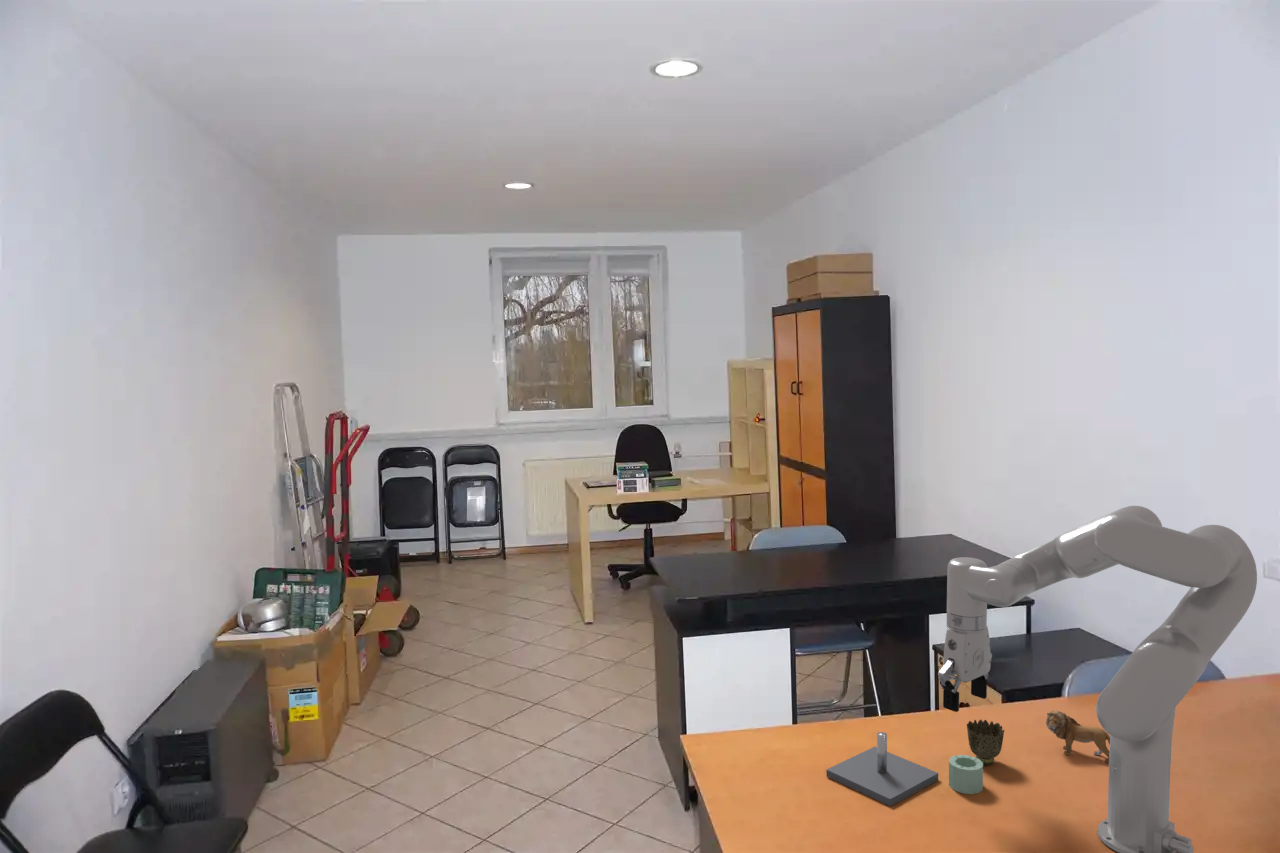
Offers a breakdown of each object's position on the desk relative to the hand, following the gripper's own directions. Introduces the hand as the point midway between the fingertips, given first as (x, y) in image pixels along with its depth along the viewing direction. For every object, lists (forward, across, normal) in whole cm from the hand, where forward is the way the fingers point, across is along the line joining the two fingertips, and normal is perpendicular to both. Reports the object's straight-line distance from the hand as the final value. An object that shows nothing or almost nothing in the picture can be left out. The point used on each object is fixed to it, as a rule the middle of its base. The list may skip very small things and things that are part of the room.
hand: (965, 702), depth 181 cm
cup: (+18, +12, +3) cm, 22 cm away
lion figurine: (+18, +30, -9) cm, 36 cm away
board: (+18, -10, +13) cm, 24 cm away
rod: (+16, -10, +13) cm, 23 cm away
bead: (+17, 0, 0) cm, 17 cm away
